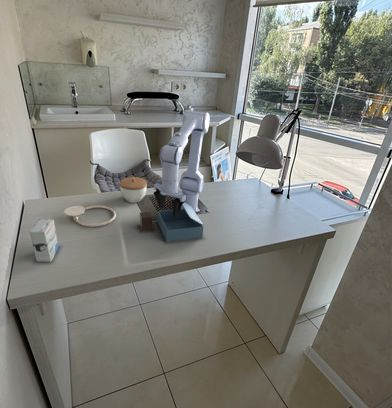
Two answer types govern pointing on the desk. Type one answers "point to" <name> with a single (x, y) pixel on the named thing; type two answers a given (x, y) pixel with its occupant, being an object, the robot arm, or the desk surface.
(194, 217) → the flap
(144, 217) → the walnut block
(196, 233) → the carton
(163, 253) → the desk surface
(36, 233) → the ink box
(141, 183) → the lidded bowl
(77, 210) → the hand towel holder
